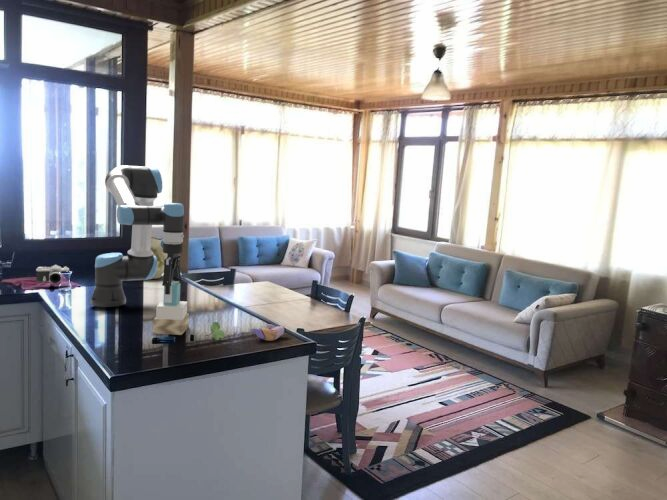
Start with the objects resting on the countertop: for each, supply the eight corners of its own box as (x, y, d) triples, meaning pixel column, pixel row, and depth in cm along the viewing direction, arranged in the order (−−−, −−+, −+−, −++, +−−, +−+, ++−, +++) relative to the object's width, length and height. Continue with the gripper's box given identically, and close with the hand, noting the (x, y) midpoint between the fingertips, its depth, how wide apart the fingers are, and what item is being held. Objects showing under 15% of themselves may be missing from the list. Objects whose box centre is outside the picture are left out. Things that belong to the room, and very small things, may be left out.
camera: (34, 284, 279) (34, 265, 278) (36, 281, 287) (35, 263, 285) (69, 284, 286) (69, 265, 285) (69, 281, 294) (69, 262, 292)
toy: (247, 323, 209) (279, 321, 219) (246, 339, 209) (279, 336, 219) (258, 327, 202) (292, 324, 211) (258, 343, 202) (292, 340, 211)
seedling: (212, 348, 209) (225, 342, 206) (197, 341, 203) (209, 334, 201) (213, 333, 213) (225, 326, 211) (198, 324, 208) (211, 318, 206)
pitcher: (162, 281, 307) (163, 238, 304) (121, 279, 307) (121, 235, 304) (174, 275, 330) (175, 234, 326) (135, 272, 330) (136, 231, 327)
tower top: (156, 319, 208) (156, 306, 207) (161, 312, 218) (161, 300, 217) (182, 319, 209) (183, 307, 208) (186, 313, 219) (187, 301, 218)
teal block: (163, 304, 210) (164, 284, 209) (167, 301, 215) (167, 282, 214) (176, 305, 210) (177, 285, 209) (179, 302, 215) (180, 283, 214)
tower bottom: (153, 334, 208) (153, 318, 208) (161, 326, 219) (161, 312, 218) (181, 335, 209) (182, 320, 208) (188, 327, 220) (188, 313, 219)
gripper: (174, 246, 199) (173, 306, 202) (189, 240, 220) (188, 294, 223) (154, 245, 199) (153, 305, 202) (171, 239, 220) (169, 293, 223)
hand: (171, 299), depth 212 cm, fingers open, 9 cm apart
